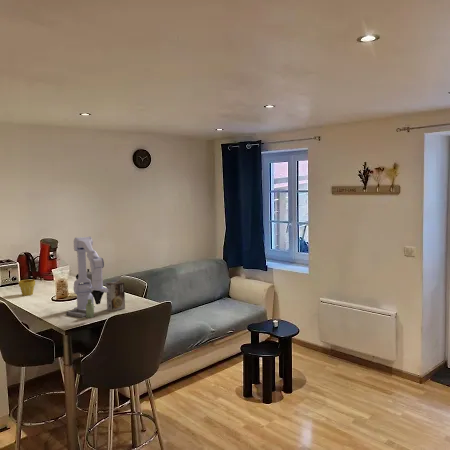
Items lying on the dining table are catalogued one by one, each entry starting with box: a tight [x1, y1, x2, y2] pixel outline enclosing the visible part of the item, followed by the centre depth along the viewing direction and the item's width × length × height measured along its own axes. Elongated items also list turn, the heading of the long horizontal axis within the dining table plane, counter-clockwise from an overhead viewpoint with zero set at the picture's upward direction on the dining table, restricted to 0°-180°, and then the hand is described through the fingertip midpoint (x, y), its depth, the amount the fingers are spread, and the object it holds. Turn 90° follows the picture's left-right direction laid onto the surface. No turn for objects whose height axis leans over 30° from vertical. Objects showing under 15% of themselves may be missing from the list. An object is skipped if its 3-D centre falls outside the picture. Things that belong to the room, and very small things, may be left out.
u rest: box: [66, 308, 86, 319], centre depth 251 cm, size 8×12×2 cm, turn 60°
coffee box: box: [105, 280, 126, 312], centre depth 263 cm, size 9×6×16 cm
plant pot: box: [18, 279, 36, 297], centre depth 302 cm, size 10×10×10 cm
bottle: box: [85, 299, 95, 319], centre depth 246 cm, size 4×4×10 cm
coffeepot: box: [75, 268, 93, 293], centre depth 300 cm, size 15×9×18 cm, turn 129°
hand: (98, 303), depth 243 cm, fingers closed
